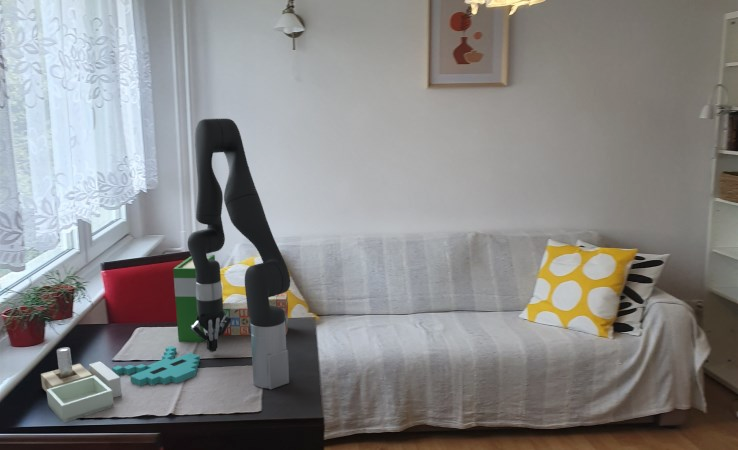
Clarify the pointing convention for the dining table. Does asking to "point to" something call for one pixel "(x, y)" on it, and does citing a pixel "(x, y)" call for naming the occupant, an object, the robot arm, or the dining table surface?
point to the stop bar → (106, 377)
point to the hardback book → (186, 300)
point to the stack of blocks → (242, 318)
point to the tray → (79, 398)
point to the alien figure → (162, 369)
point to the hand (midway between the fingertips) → (212, 350)
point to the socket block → (54, 380)
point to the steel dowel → (64, 362)
